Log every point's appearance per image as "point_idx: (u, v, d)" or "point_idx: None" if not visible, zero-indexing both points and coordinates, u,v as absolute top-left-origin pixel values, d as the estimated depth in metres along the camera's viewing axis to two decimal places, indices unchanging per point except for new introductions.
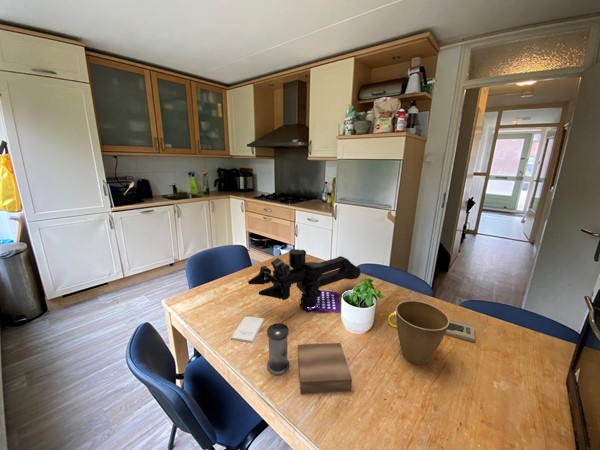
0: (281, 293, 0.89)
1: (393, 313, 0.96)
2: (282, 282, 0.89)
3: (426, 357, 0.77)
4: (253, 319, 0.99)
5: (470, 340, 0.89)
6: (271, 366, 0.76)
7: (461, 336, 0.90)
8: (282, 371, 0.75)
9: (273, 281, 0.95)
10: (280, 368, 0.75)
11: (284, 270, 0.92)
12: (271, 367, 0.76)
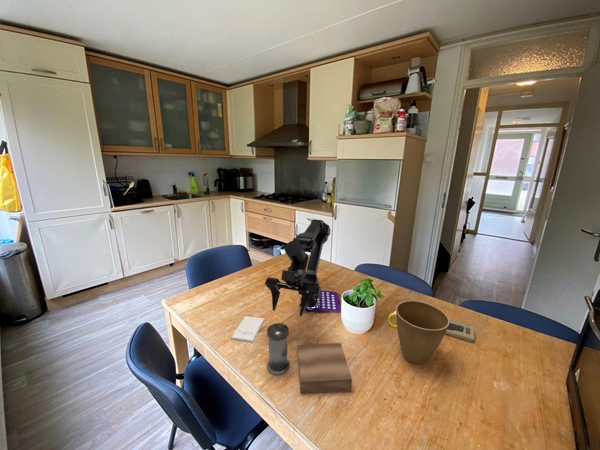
0: (315, 296, 0.83)
1: (393, 313, 0.96)
2: (311, 290, 0.80)
3: (426, 357, 0.77)
4: (253, 319, 0.99)
5: (470, 340, 0.89)
6: (271, 366, 0.76)
7: (461, 336, 0.90)
8: (282, 371, 0.75)
9: (293, 288, 0.85)
10: (280, 368, 0.75)
11: (302, 278, 0.80)
12: (271, 367, 0.76)
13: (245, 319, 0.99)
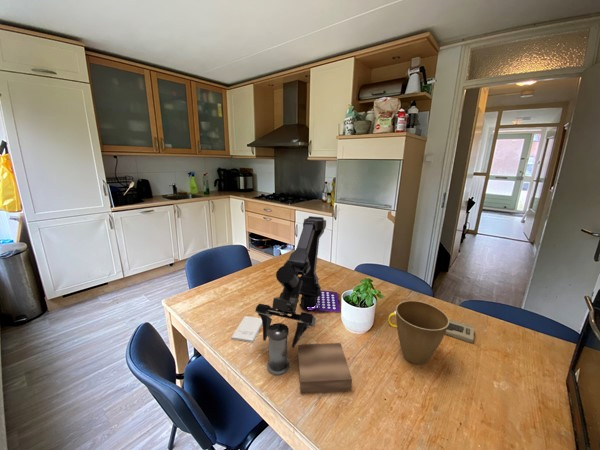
0: (308, 325, 0.78)
1: (393, 313, 0.96)
2: (305, 319, 0.75)
3: (426, 357, 0.77)
4: (253, 319, 0.99)
5: (469, 341, 0.89)
6: (271, 366, 0.76)
7: (460, 336, 0.90)
8: (282, 371, 0.75)
9: (285, 316, 0.79)
10: (280, 368, 0.75)
11: (295, 306, 0.75)
12: (271, 367, 0.76)
13: (245, 319, 0.99)
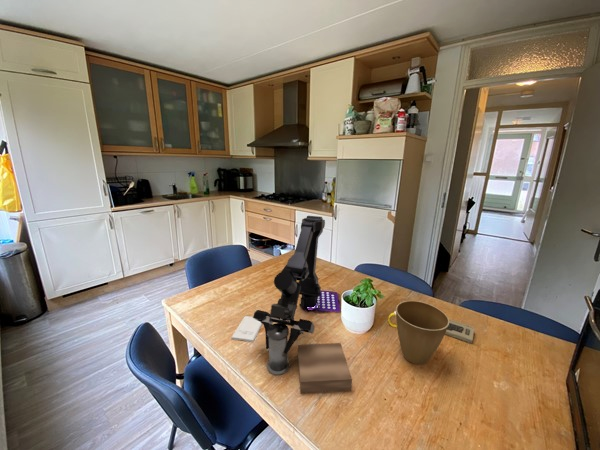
0: (302, 331, 0.77)
1: (393, 313, 0.96)
2: (303, 326, 0.74)
3: (426, 357, 0.77)
4: (253, 319, 0.99)
5: (468, 341, 0.88)
6: (271, 366, 0.75)
7: (459, 336, 0.90)
8: (282, 371, 0.75)
9: (283, 323, 0.78)
10: (280, 368, 0.75)
11: (293, 313, 0.74)
12: (271, 367, 0.76)
13: (245, 319, 0.99)
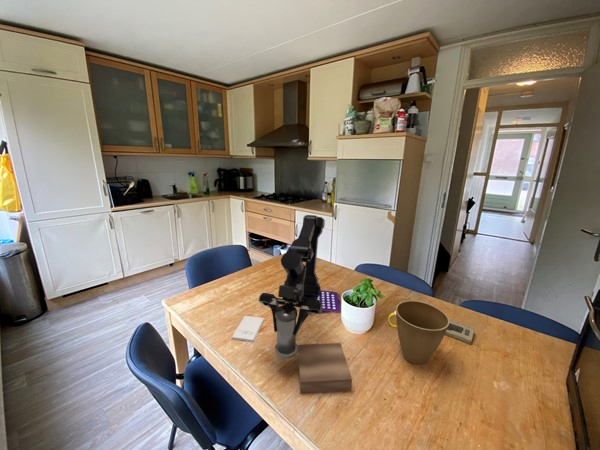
0: (310, 311, 0.75)
1: (393, 313, 0.96)
2: (312, 306, 0.72)
3: (426, 357, 0.77)
4: (253, 318, 0.99)
5: (467, 341, 0.88)
6: (280, 349, 0.73)
7: (458, 336, 0.90)
8: (291, 353, 0.73)
9: (291, 304, 0.76)
10: (289, 350, 0.73)
11: (302, 293, 0.72)
12: (280, 350, 0.73)
13: (245, 319, 0.99)
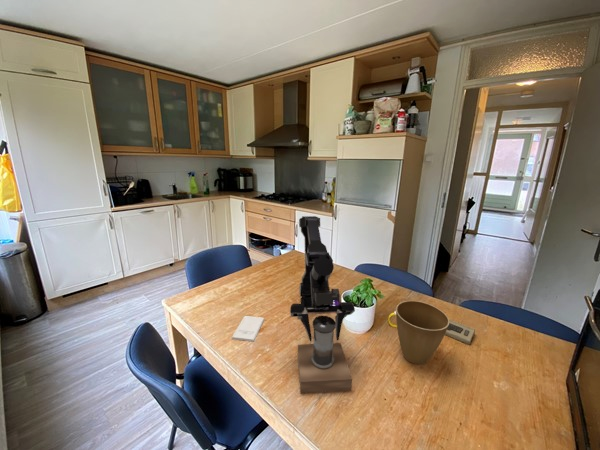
0: None
1: (393, 313, 0.96)
2: (348, 308, 0.73)
3: (426, 357, 0.77)
4: (253, 318, 0.99)
5: (465, 342, 0.88)
6: (320, 361, 0.72)
7: (457, 337, 0.90)
8: (331, 363, 0.73)
9: (322, 311, 0.75)
10: (329, 360, 0.73)
11: None
12: (320, 362, 0.72)
13: (245, 319, 0.99)
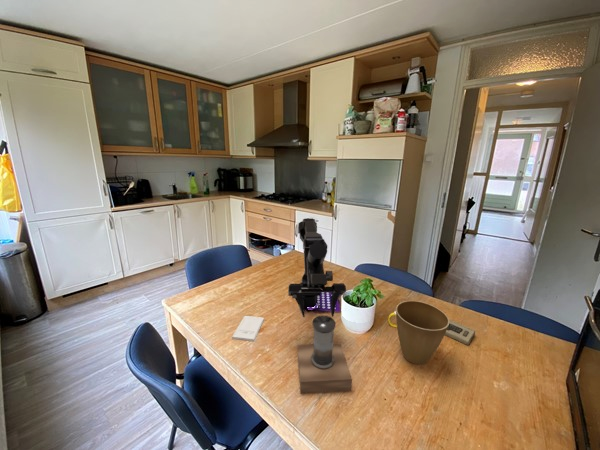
0: None
1: (393, 313, 0.96)
2: (340, 289, 0.82)
3: (426, 357, 0.77)
4: (253, 318, 0.99)
5: (464, 342, 0.88)
6: (320, 361, 0.72)
7: (455, 337, 0.90)
8: (331, 363, 0.73)
9: (317, 291, 0.84)
10: (329, 360, 0.73)
11: None
12: (320, 362, 0.72)
13: (245, 318, 0.99)
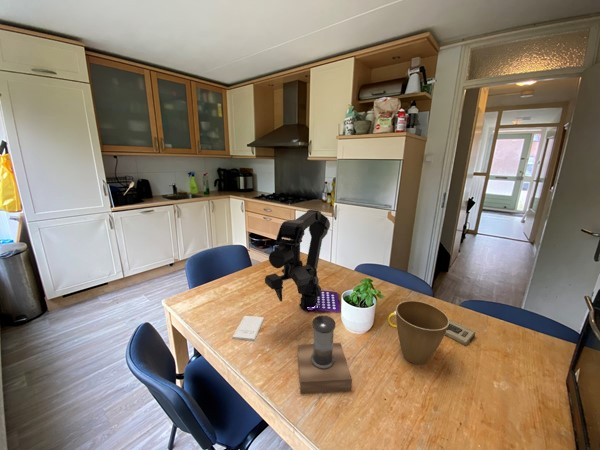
0: None
1: (393, 313, 0.96)
2: (313, 275, 0.91)
3: (426, 357, 0.77)
4: (253, 318, 0.99)
5: (462, 342, 0.88)
6: (320, 361, 0.72)
7: (454, 337, 0.90)
8: (331, 363, 0.73)
9: None
10: (329, 360, 0.73)
11: None
12: (320, 362, 0.72)
13: (245, 318, 0.99)
